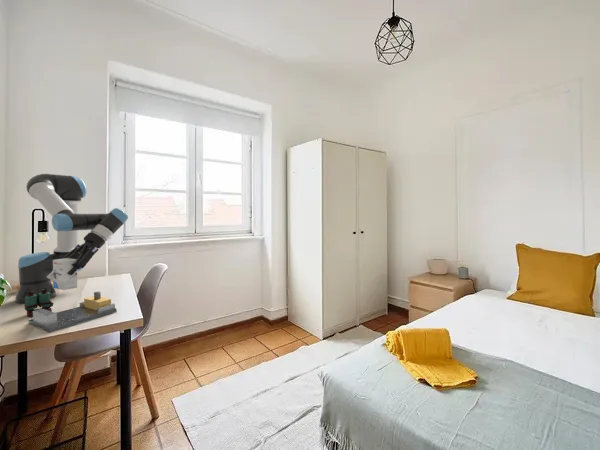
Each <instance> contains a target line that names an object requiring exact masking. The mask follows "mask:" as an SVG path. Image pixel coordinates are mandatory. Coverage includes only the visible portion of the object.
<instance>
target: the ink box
mask: <svg viewBox="0 0 600 450" xmlns="http://www.w3.org/2000/svg"><path fill="white" fill-rule="evenodd" d="M76 260H77V259H70V258H64V259H57V260H53V281H52V282H53V283H52V285H53V288H54V289H55V290H56V289H57V290H62V291H67V290H73V289H77V288H78V271H76V272H75V273H74V274H73V275H72V276H71V277H70V278H69V279H68V280H67V281H66V283H63V282H61V281H59V280H58V278H59V277H60V276H61V275H62V274H63V273H64V272H65V271H66V270H67V269H68V268H69V267H70V266H72V265H71V264H74V263H75V262H76ZM73 267H74V266H73Z"/></svg>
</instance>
